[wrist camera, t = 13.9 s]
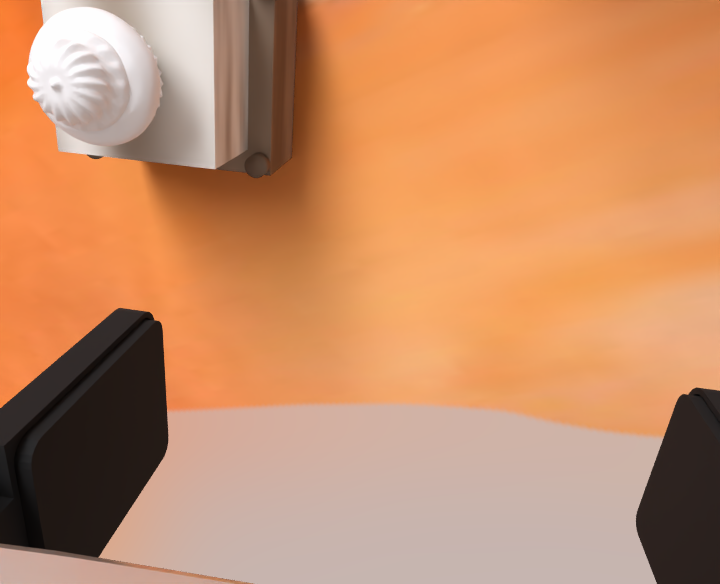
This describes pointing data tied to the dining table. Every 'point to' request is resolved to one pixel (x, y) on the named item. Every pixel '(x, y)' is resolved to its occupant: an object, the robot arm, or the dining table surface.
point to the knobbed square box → (209, 82)
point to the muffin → (94, 76)
